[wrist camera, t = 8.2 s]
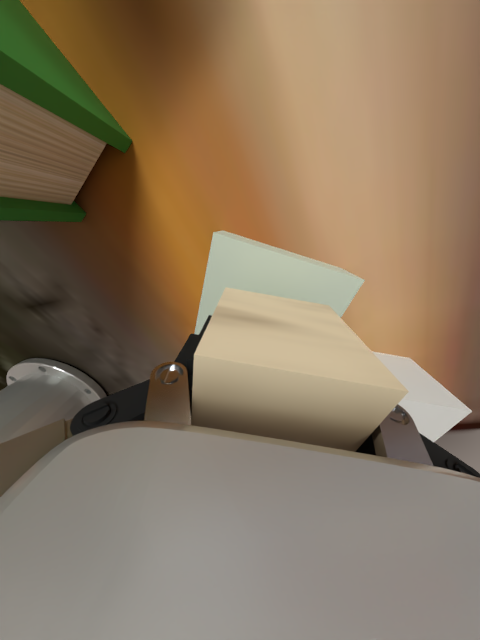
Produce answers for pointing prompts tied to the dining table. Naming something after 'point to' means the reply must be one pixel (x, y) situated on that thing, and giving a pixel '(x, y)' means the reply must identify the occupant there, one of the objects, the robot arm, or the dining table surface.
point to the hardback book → (45, 124)
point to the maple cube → (288, 373)
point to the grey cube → (425, 397)
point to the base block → (271, 275)
